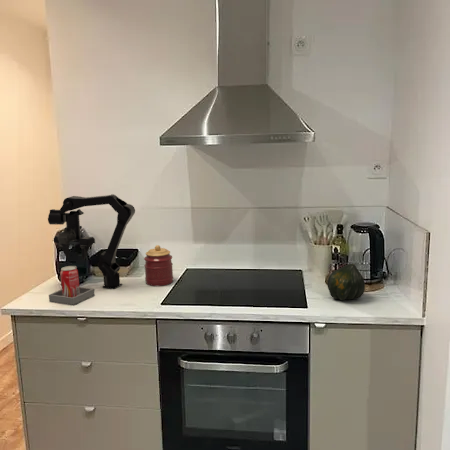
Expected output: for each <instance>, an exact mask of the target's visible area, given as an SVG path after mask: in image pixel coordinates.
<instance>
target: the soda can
mask: <svg viewBox="0 0 450 450" xmlns="http://www.w3.org/2000/svg"><path fill="white" fill-rule="evenodd" d="M77 268H78V267H77V266H76V265H68V266H67V265H66V266H64V267H61V269H60V273H59V274H60V282H61V285H60V286H61V289H62V295H63V296H65V297H71V298H73V297H76V296H78V295H80V287H81V286H80V278H79V276H80V275H79V270H78V269H77Z"/></svg>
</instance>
